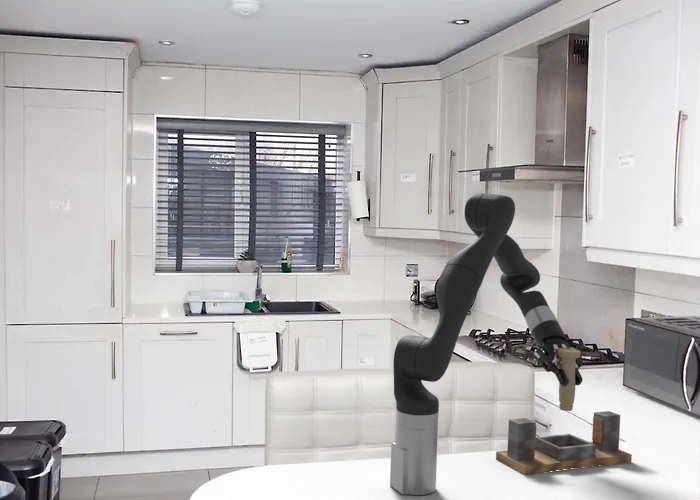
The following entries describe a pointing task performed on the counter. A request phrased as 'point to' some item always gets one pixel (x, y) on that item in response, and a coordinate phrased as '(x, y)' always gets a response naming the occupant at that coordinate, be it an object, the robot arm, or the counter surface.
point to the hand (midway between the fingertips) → (572, 383)
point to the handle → (569, 368)
